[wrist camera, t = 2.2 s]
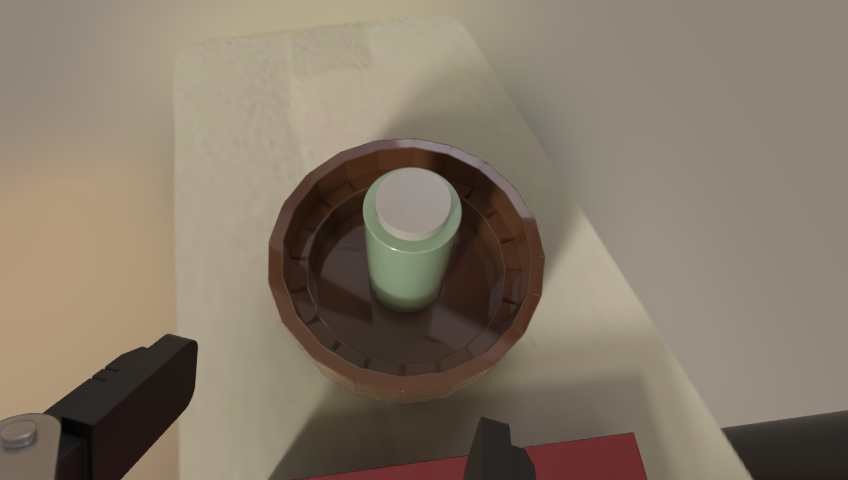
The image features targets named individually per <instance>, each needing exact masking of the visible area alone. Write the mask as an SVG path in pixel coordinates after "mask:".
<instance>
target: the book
mask: <svg viewBox="0 0 848 480" xmlns="http://www.w3.org/2000/svg"><path fill="white" fill-rule="evenodd" d="M523 449H525V450H526V452H527V453H528V455H529V457H530V459H531V460H532V462H533V464H534V466H535V472H536V479H537V480H647V477H646V473H645V470H644V466H643V463H642V460H641V456H640V453H639V449H638V446H637V443H636V439H635V436H634V433H625V434H618V435H611V436H603V437H596V438H589V439H582V440H575V441H567V442H560V443H553V444H546V445H539V446H531V447H524V448H523ZM468 456H469V455H467V456H459V457H452V458H445V459H438V460H431V461H423V462H416V463H409V464H402V465H395V466H387V467H380V468H373V469H366V470H359V471H351V472H344V473H337V474H330V475H323V476H315V477H308V478H301V479H294V480H463V477H464V471H465V466H466V462H467V459H468Z"/></svg>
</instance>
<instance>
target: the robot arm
mask: <svg viewBox="0 0 848 480" xmlns="http://www.w3.org/2000/svg"><path fill="white" fill-rule="evenodd" d="M197 353H198V344H197V342H196V341H195V340H191V339H187V338H183V337H180V336H176V335H172V334H166V335H165V336H163V337H162V338H161V339H159V340H158V341H157V342H155V343H154V344H153V345H152V346H150V347H149V348H146V347H140V348H137V349H135V350H132V351H130V352H127V353H125V354H122V355H120V356H119V357H118V358H116V359H115V360H114V361H112V362H111V363H110V364H108V365H107V366H106V367H105V369H102V370H100V371H99V372H97V373H96V374H95V375H93V377H92V379H88V380H87V381H85V382H84V383H83V384H81V385H80V386H79V387H77V388H76V389H75V390H73V391H72V392H70V393H69V394H68V395H66V396H65V397H64V398H62V399H61V400H60V401H58V402H57V403H56V404H54V405H53V406H52V407H50V408H49V409H48V410H46V411H45V412H44V413H42V414H40V413H29V414H22V415H17V416H13V417H10V418H7V419H4V420H2V421H0V480H121V479H122V478H123V477H124V475H125V474H126V473H127V472H128V471H129V470H130V469H131V468H132V467H133V466H134V465H135V463H136V462H137V461H138V460H139V459H140V458H141V457H142V456H143V455H144V454H145V453H146V452H147V450H148V449H149V448H150V447H151V446H152V445H153V444H154V443H155V442H156V441H157V440H158V438H159V437H160V436H161V435H162V434H163V433H164V432H165V431H166V430H167V429H168V428H169V427H170V425H171V424H172V423H173V422H174V421H175V420H176V419H177V418H178V417H179V416H180V415H181V414H182V413H183V411H184V410H185V409H186V408H187V406H188V405H189V403H190V401H191V399H192V396H193V393H194V389H195V380H196V367H197ZM463 480H537V479H536V472H535V466H534V464H533V462H532V460H531V459H530V457H529V455H528V453H527V452H526V450H525V449H523V448H519V447H515V446H511V440H510V428H509V424H507V423H503V422H499V421H495V420H491V419H488V418H484V417H481V419H480V421H479V424H478V427H477V430H476V434H475V437H474V440H473V443H472V446H471V450H470V453H469V456H468V459H467V462H466V466H465V471H464V477H463Z"/></svg>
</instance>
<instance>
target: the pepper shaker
mask: <svg viewBox="0 0 848 480" xmlns="http://www.w3.org/2000/svg"><path fill="white" fill-rule="evenodd" d="M461 217H462V208H461V202H460V199H459V197H458V194H457V193H456V191H455V189H454V188H453V187H452V185H451V184H450V183H449V182H448V181H447V180H446V179H444V178H443V177H442V176H440V175H438V174H436V173H434V172H432V171H429V170H426V169H422V168H414V167H407V168H400V169H396V170H393V171H390V172H388V173H386V174H384V175H383V176H381V177H380V178H378V179H377V180H376V181H375V182H374V183H373V184H372V185H371V187H370V188H369V190H368V191H367V194H366V196H365V199H364V203H363V219H364V230H365V241H366V252H367V263H368V273H369V283H370V287H371V290H372V293H373V295H374V296H375V298H376V299H377V300H378V301H379V302H380V303H381V304H382V305H383V306H385V307H386V308H388V309H390V310H393V311H396V312H400V313H412V312H417V311H420V310H422V309H424V308H426V307H428V306H429V305H430V304H431V303H433V301H434V300H435V299H436V298H437V296H438V295H439V293H440V290H441V288H442V284H443V281H444V277H445V274H446V270H447V267H448V263H449V260H450V257H451V253H452V250H453V246H454V243H455V239H456V236H457V232H458V229H459V226H460V222H461Z"/></svg>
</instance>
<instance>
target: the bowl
mask: <svg viewBox="0 0 848 480" xmlns="http://www.w3.org/2000/svg"><path fill="white" fill-rule="evenodd" d="M407 167H414V168H422V169H426V170H429V171H432V172H434V173H436V174H438V175H440V176H442V177H443V178H444V179H446V180H447V181H448V182H449V183H450V184H451V185H452V187H453V188H454V189H455V191H456V193H457V194H458V197H459V199H460V202H461V208H462V217H461V222H460V226H459V229H458V232H457V236H456V239H455V243H454V246H453V250H452V253H451V257H450V260H449V263H448V267H447V270H446V274H445V277H444V281H443V284H442V288H441V290H440V293H439V295H438V296H437V298H436V299H435V300H434V301H433V303H431V304H430V305H429V306H428V307H426V308H424V309H422V310H420V311H417V312H412V313H400V312H396V311H393V310H390V309H388V308H386V307H385V306H383V305H382V304H381V303H380V302H379V301H378V300H377V299H376V298H375V296H374V295H373V293H372V290H371V287H370V283H369V273H368V263H367V252H366V241H365V230H364V219H363V203H364V199H365V196H366V194H367V191H368V190H369V188H370V187H371V185H372V184H373V183H374V182H375V181H376V180H377V179H378V178H380V177H381V176H383V175H384V174H386V173H388V172H390V171H393V170H396V169H400V168H407ZM544 261H545V256H544V252H543V248H542V244H541V240H540V236H539V232H538V228H537V224H536V220H535V218H534V217H533V215H532V214H531V212H530V210H529V209H528V207H527V206H526V204H525V202H524V201H523V199H522V198H521V196H520V195H519V193H518V191H517V190H516V188H514V186H513V185H512V184H511V183H509V182H508V181H507V180H506V179H505V178H504V177H503V176H501V175H500V174H499V173H498V172H497V171H496V170H495V169H493V168H492V167H491V166H490V165H489V164H488V163H486V162H484V161H482V160H480V159H478V158H476V157H474V156H472V155H470V154H468V153H466V152H464V151H462V150H460V149H458V148H456V147H453V146H452V147H451V146H450V145H445V144H440V143H435V142H430V141H425V140H420V139H413V138H412V139H395V140H379V141H373V142H370V143H367V144H364V145H361V146H358V147H354V148H351V149H348V150H345V151H342V152H340V153H338V154H337V155H335V156H334V157H332V158H331V159H329V160H328V161H326V162H325V163H323V164H322V165H320V166H319V167H317V168H316V169H314V170H313V171H311V172H310V173H308V175H306V176H305V178H304V179H303V180H302V181H301V183H300V184H299V185H298V186H297V188H296V189H295V190H294V191H293V192H292V194H291V195H290V196H289V197H288V199H287V200H286V201H285V202H284V204H283V206H282V208H281V211H280V213H279V216H278V219H277V221H276V224H275V227H274V229H273V232H272V235H271V237H270V240H269V266H268V282H269V286H270V289H271V292H272V294H273V297H274V300H275V303H276V306H277V308H278V311H279V314H280V317H281V320H282V322H283V324H284V325H285V327H286V328H287V330H288V331H289V333H290V334H291V336H292V337H293V338H294V340H295V341H296V343H297V344H298V346H299V347H300V348H301V349H302V350H303V352H304V353H305V354H306V355H307V356H308V358H309V359H310V360H311V361H312V362H313V364H314V365H315V366H316V367H317V368H318V370H319V371H320V372H321V373H322V374H323V375H324V376H326V377H328V378H329V379H331V380H333V381H334V382H336V383H338V384H340V385H341V386H343V387H345V388H346V389H348V390H350V391H351V392H353V393H355V394H356V395H359V396H362V397H367V398H372V399H377V400H381V401H386V402H391V403H396V404H406V403H414V402H422V401H430V400H438V399H441V398H445V397H447V396H449V395H451V394H453V393H455V392H457V391H459V390H461V389H463V388H465V387H467V386H469V385H471V384H473V383H476V382H477V381H478V380H480V379H481V378H482V377H483V376H484V375H485V374H486V373H487V372H488V371H489V370H490V369H491V368H492V367H493V366H494V365H495V364H496V363H497V362H498V361H499V360H500V359H501V358H502V357H503V356H504V355H505V354H506V353H507V352H508V351H509V350H510V349H511V348H512V347H513V346H514V345H515V344H516V342H517V341H518V340H519V339H520V338H521V337H522V336H523V335H524V334H525V331H526V329H527V327H528V325H529V323H530V321H531V318H532V316H533V314H534V312H535V310H536V308H537V305H538V303H539V301H540V299H541V296H542V285H543V273H544Z"/></svg>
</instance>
